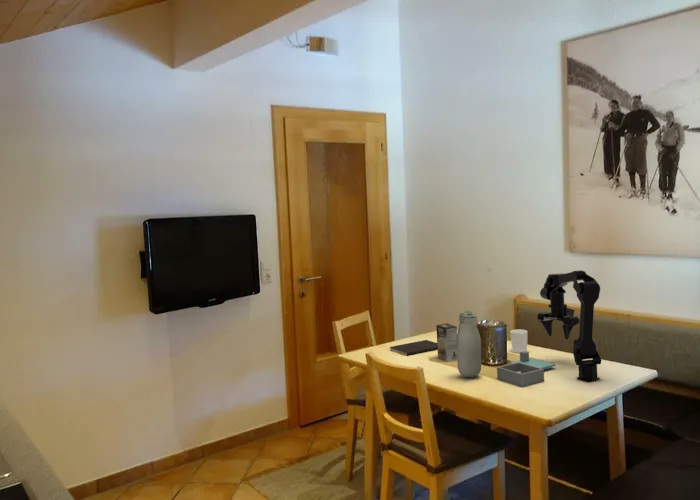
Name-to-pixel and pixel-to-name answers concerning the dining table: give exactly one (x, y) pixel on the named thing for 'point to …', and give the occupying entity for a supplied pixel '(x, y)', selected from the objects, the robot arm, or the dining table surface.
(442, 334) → the coffee box
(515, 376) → the parts tub
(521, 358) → the lid
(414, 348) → the hardcover book
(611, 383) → the dining table surface
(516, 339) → the white cup
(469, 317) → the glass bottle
